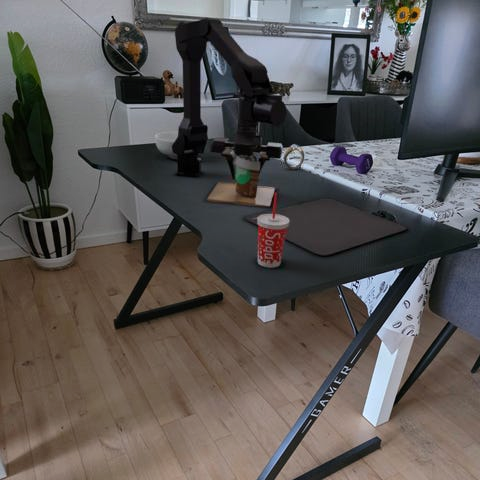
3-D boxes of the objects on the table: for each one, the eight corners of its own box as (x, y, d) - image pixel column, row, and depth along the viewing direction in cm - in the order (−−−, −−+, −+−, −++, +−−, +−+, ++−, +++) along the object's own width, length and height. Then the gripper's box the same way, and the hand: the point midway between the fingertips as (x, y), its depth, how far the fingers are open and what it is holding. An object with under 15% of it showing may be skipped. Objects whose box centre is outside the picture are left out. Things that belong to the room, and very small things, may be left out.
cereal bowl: (146, 158, 154) (145, 136, 151) (171, 149, 167) (170, 129, 164) (190, 165, 149) (190, 143, 145) (212, 156, 162) (212, 135, 159)
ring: (284, 170, 151) (286, 145, 147) (281, 167, 154) (284, 143, 149) (303, 170, 152) (307, 146, 148) (301, 168, 155) (304, 143, 151)
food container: (229, 183, 129) (231, 147, 123) (250, 183, 130) (253, 148, 124) (234, 199, 120) (236, 161, 114) (256, 200, 120) (260, 162, 115)
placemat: (206, 201, 119) (206, 199, 119) (218, 183, 134) (218, 181, 133) (269, 207, 118) (269, 205, 118) (274, 189, 132) (275, 187, 132)
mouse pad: (327, 198, 127) (328, 197, 127) (409, 228, 110) (409, 228, 110) (241, 217, 110) (241, 216, 110) (322, 257, 93) (322, 256, 92)
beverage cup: (249, 264, 88) (254, 194, 80) (260, 253, 93) (266, 186, 85) (278, 271, 86) (286, 200, 79) (288, 260, 91) (297, 191, 83)
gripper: (206, 121, 109) (205, 185, 118) (282, 128, 107) (275, 192, 116) (215, 114, 118) (213, 174, 127) (285, 120, 117) (279, 180, 125)
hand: (244, 180), depth 124 cm, fingers closed on food container, 6 cm apart
